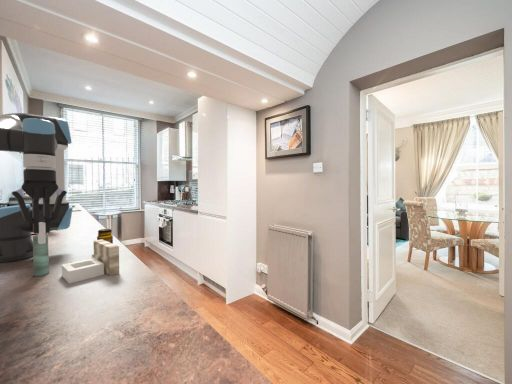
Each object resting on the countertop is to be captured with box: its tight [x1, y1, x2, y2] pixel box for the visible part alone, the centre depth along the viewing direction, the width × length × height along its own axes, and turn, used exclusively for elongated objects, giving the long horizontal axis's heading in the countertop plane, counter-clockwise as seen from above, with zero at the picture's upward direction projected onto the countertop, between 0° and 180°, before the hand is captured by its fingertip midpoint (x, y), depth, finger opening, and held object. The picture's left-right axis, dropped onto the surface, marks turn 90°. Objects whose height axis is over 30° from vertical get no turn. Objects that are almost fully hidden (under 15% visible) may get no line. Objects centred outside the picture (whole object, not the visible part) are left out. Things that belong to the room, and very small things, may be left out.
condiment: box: [90, 228, 114, 259], centre depth 105 cm, size 7×8×12 cm
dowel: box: [32, 234, 50, 277], centre depth 83 cm, size 4×4×14 cm
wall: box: [93, 239, 120, 277], centre depth 88 cm, size 17×3×10 cm, turn 51°
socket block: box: [61, 258, 105, 284], centre depth 82 cm, size 10×10×4 cm
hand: (41, 242), depth 73 cm, fingers closed
